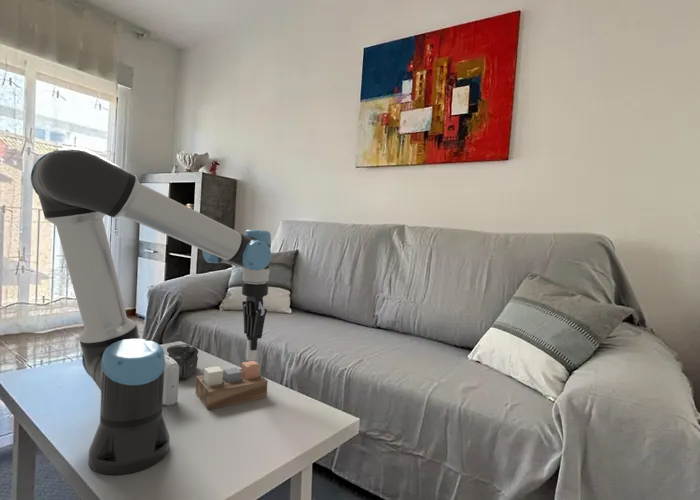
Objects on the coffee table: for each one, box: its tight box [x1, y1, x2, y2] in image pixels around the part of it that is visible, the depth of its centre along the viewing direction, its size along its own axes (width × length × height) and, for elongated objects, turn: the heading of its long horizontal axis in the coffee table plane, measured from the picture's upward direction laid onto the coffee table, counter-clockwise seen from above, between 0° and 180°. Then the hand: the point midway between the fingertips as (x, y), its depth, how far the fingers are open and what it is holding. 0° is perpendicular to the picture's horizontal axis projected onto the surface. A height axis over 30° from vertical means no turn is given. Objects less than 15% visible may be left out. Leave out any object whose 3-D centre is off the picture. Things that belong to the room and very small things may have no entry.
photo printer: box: [162, 354, 180, 406], centre depth 111 cm, size 10×4×12 cm, turn 56°
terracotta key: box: [240, 360, 260, 380], centre depth 120 cm, size 4×4×5 cm
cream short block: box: [203, 365, 224, 387], centre depth 113 cm, size 4×4×5 cm
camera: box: [166, 343, 199, 380], centre depth 130 cm, size 13×10×10 cm
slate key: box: [222, 367, 242, 383], centre depth 116 cm, size 4×4×5 cm
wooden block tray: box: [195, 368, 268, 411], centre depth 117 cm, size 12×17×5 cm
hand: (251, 359), depth 120 cm, fingers closed
